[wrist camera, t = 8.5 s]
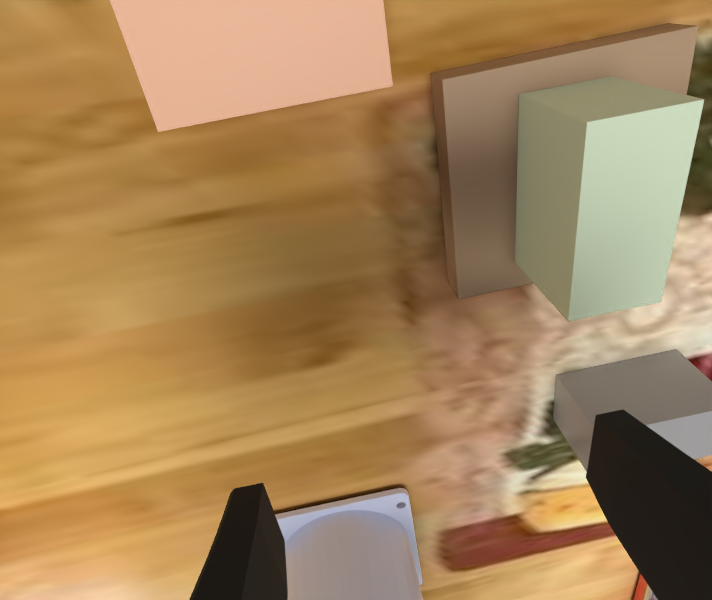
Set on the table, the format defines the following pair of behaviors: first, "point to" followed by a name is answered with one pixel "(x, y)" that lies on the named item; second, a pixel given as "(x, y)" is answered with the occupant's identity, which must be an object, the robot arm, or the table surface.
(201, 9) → the terracotta brick
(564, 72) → the walnut slab
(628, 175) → the sage brick
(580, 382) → the grey brick
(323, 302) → the table surface
